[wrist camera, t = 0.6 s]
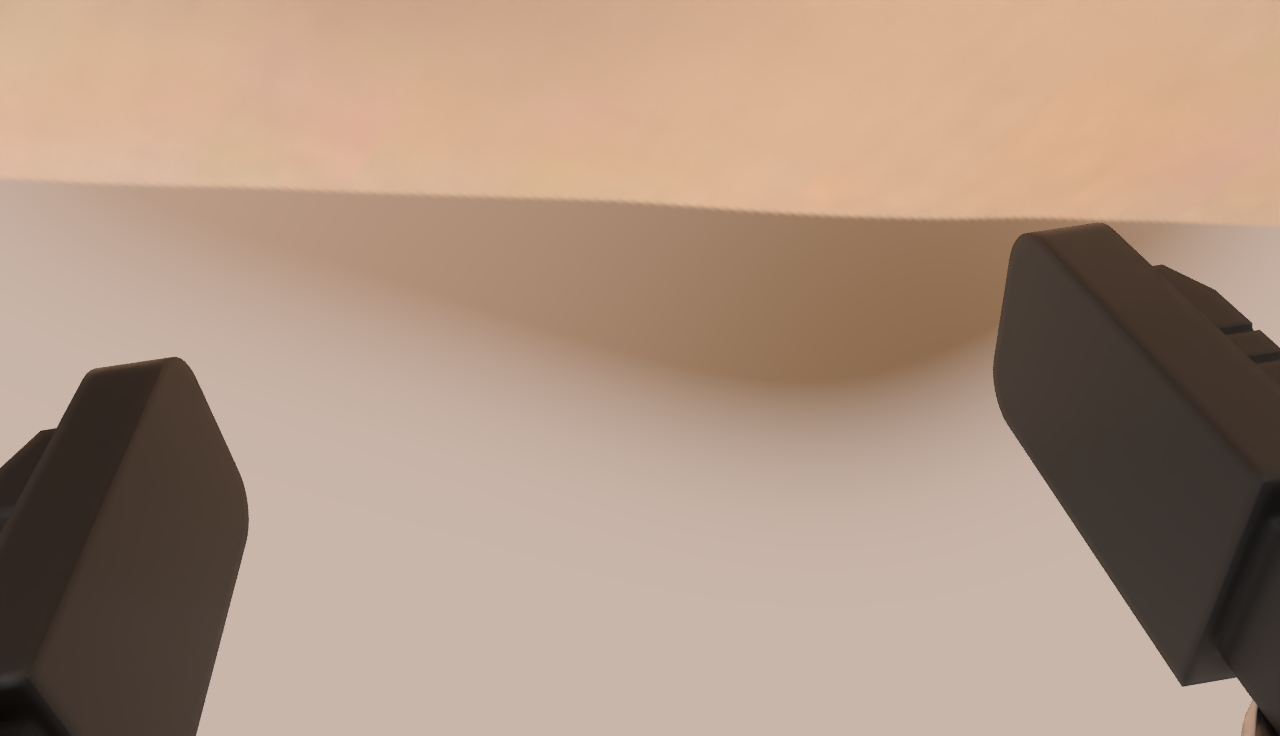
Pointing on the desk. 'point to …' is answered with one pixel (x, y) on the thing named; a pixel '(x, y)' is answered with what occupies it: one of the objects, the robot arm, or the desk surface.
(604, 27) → the desk surface
